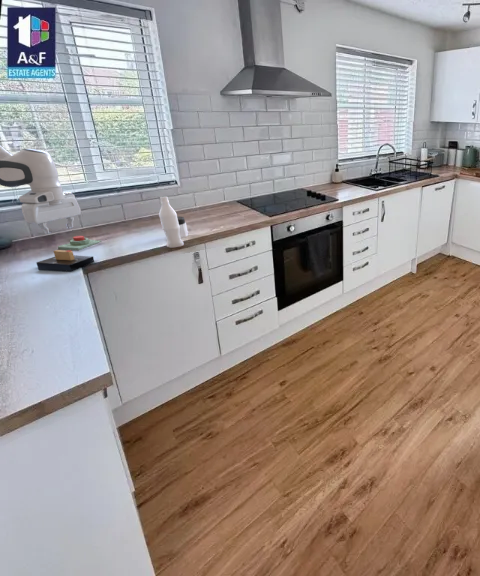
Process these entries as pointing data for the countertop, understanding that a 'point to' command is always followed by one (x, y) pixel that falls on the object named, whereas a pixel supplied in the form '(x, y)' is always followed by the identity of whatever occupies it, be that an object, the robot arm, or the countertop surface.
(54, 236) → the countertop surface
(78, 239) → the button
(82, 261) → the panel
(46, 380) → the countertop surface
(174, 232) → the water bottle
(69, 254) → the handle
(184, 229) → the jar
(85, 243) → the button block
